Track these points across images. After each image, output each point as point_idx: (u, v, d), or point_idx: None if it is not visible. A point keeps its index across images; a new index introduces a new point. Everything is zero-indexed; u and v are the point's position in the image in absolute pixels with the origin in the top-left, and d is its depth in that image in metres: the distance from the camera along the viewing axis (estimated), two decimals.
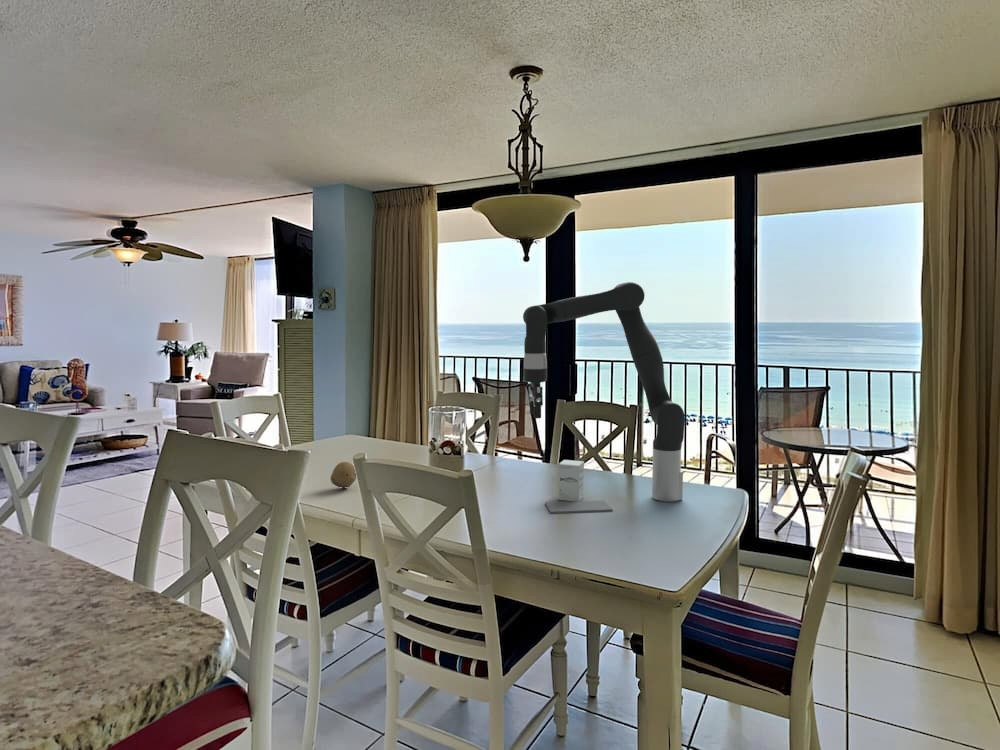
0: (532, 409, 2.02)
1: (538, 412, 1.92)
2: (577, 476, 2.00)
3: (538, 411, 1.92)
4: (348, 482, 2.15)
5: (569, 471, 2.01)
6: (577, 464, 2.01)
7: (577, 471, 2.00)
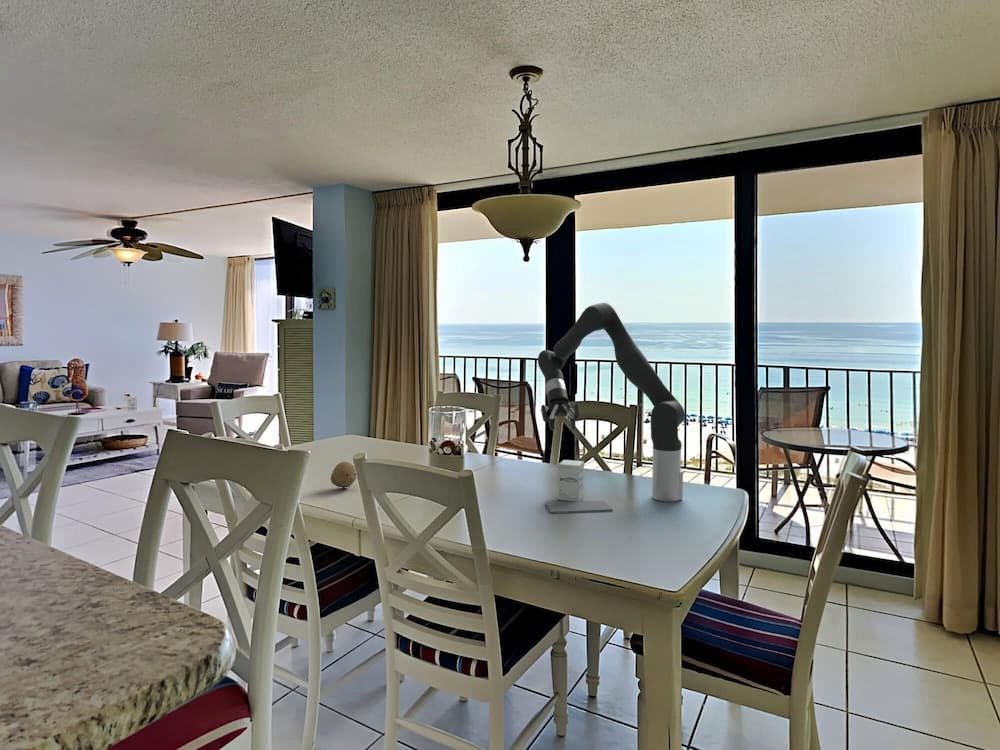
0: (571, 426, 2.19)
1: (549, 425, 2.18)
2: (577, 476, 2.00)
3: (549, 424, 2.18)
4: (348, 482, 2.15)
5: (569, 471, 2.01)
6: (577, 464, 2.01)
7: (577, 471, 2.00)
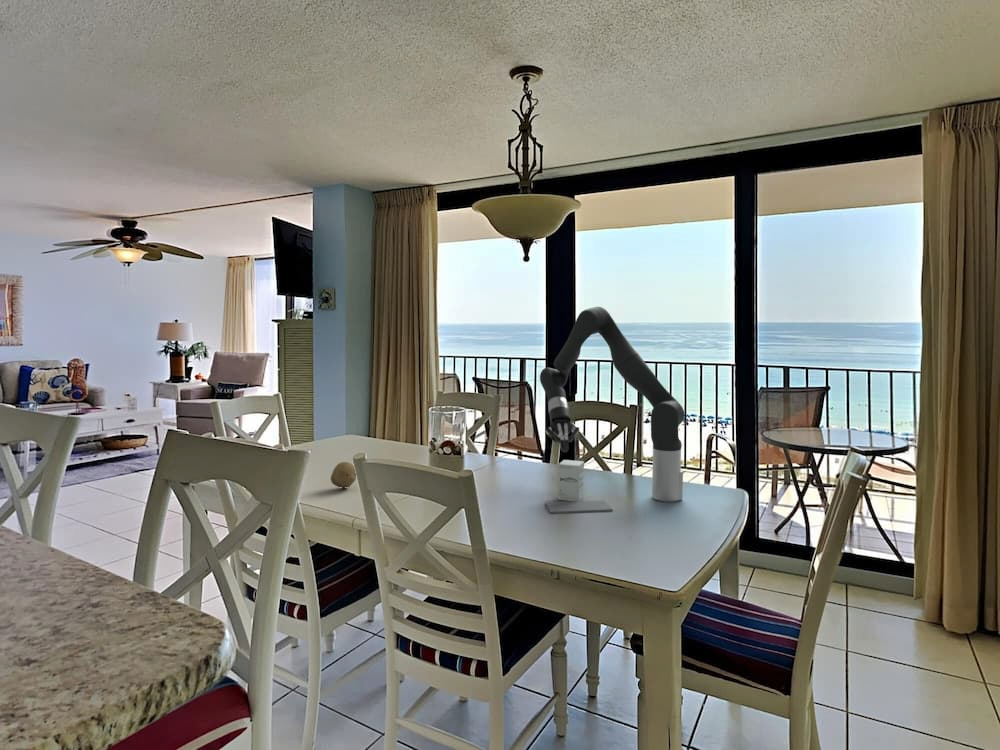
0: None
1: (560, 446, 2.15)
2: (577, 476, 2.00)
3: (560, 445, 2.15)
4: (348, 482, 2.15)
5: (569, 471, 2.01)
6: (577, 464, 2.01)
7: (577, 471, 2.00)
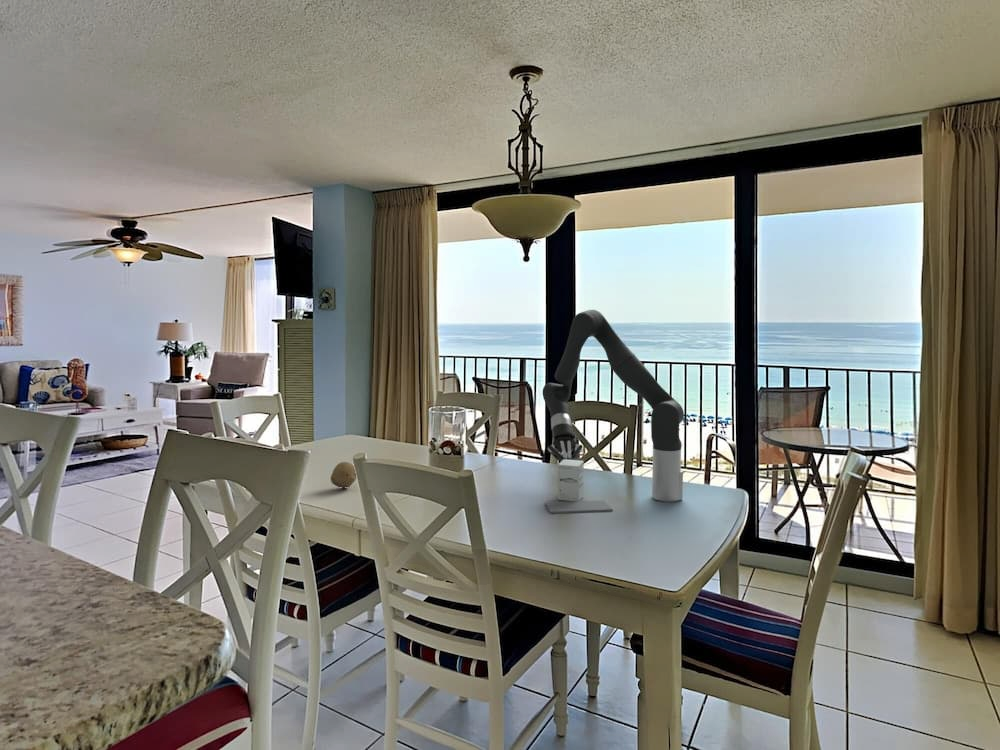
0: None
1: None
2: (577, 476, 2.00)
3: None
4: (348, 482, 2.15)
5: (569, 472, 2.00)
6: (577, 464, 2.01)
7: (577, 472, 1.99)
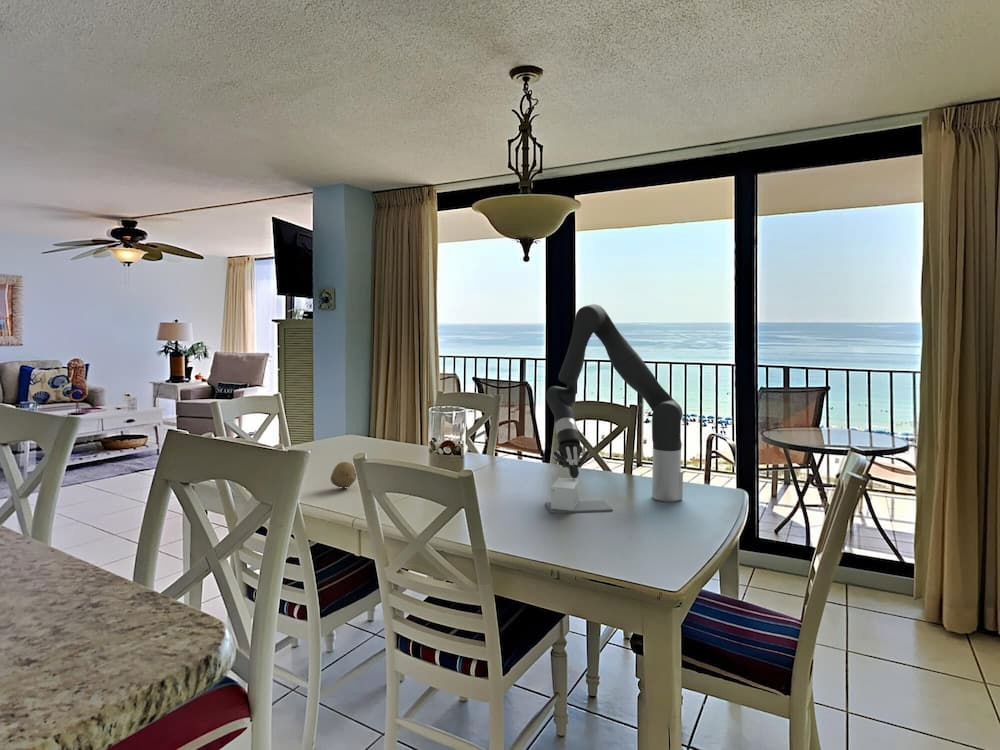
0: None
1: (570, 471, 2.00)
2: None
3: (569, 470, 2.01)
4: (348, 482, 2.15)
5: None
6: (570, 506, 1.89)
7: None
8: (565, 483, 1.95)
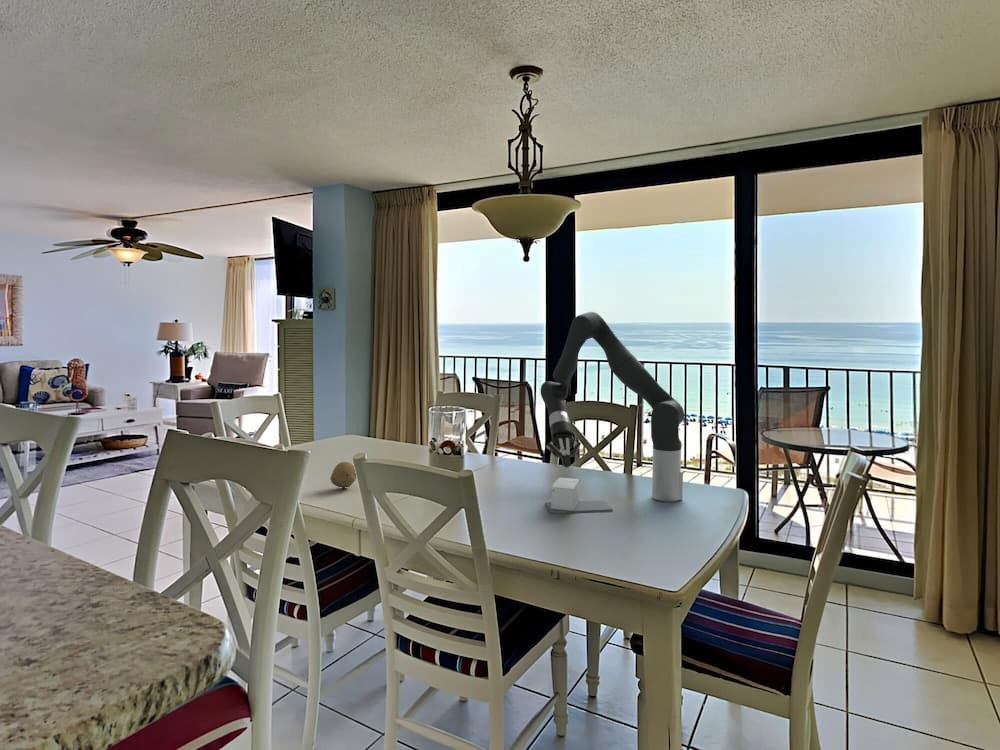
0: None
1: (562, 461, 2.13)
2: None
3: (562, 460, 2.13)
4: (348, 482, 2.15)
5: None
6: (570, 506, 1.89)
7: None
8: (565, 483, 1.95)
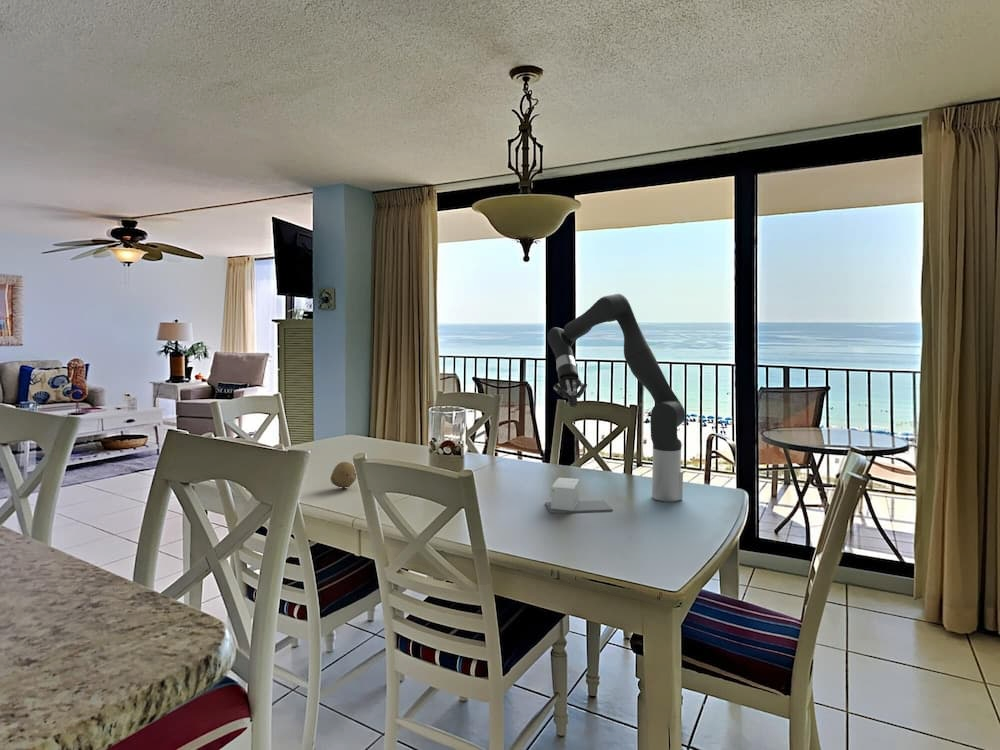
0: None
1: (569, 401, 2.18)
2: None
3: (569, 400, 2.18)
4: (348, 482, 2.15)
5: None
6: (570, 506, 1.89)
7: None
8: (565, 483, 1.95)
